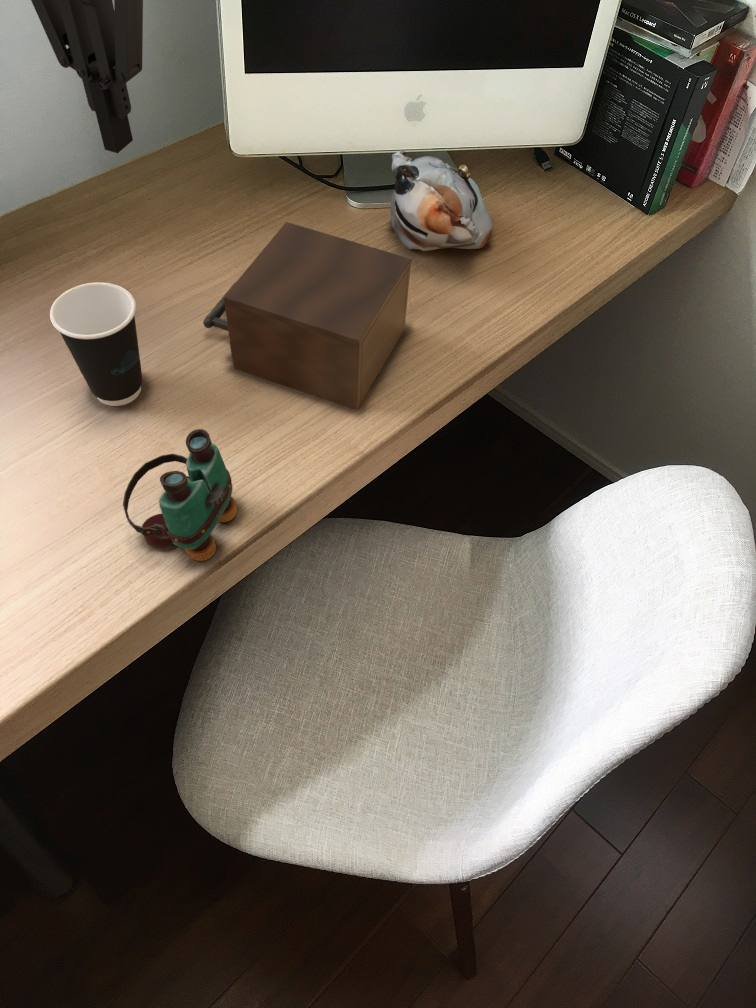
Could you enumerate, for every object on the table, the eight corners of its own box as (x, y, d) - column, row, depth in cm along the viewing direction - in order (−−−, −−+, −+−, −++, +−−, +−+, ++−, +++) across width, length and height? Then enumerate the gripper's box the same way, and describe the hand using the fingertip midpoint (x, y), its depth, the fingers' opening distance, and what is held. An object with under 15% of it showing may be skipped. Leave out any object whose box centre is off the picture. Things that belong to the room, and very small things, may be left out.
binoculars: (132, 402, 70) (233, 425, 67) (164, 478, 78) (255, 501, 75) (77, 476, 64) (185, 504, 62) (117, 549, 73) (213, 576, 70)
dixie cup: (151, 417, 81) (128, 337, 72) (73, 417, 81) (41, 336, 72) (160, 363, 86) (140, 281, 77) (87, 363, 86) (58, 280, 77)
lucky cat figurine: (512, 238, 102) (521, 180, 88) (440, 296, 102) (438, 247, 88) (439, 158, 104) (437, 90, 91) (369, 215, 104) (356, 155, 90)
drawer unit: (233, 368, 86) (223, 297, 78) (290, 293, 94) (286, 221, 86) (357, 410, 83) (359, 340, 75) (404, 329, 91) (411, 258, 83)
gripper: (151, -155, 60) (195, 142, 79) (8, -183, 62) (85, 111, 81) (93, -126, 55) (155, 180, 75) (-57, -158, 58) (40, 147, 77)
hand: (118, 144), depth 78 cm, fingers closed
